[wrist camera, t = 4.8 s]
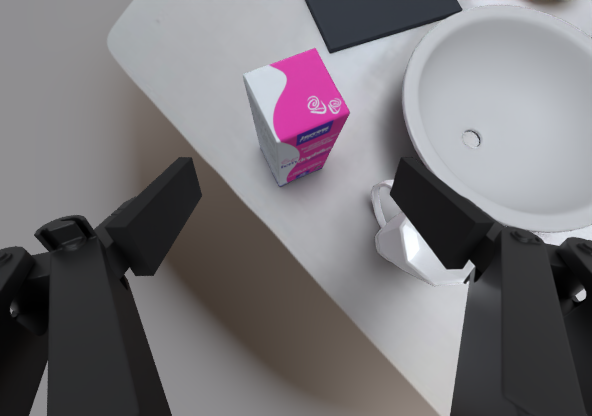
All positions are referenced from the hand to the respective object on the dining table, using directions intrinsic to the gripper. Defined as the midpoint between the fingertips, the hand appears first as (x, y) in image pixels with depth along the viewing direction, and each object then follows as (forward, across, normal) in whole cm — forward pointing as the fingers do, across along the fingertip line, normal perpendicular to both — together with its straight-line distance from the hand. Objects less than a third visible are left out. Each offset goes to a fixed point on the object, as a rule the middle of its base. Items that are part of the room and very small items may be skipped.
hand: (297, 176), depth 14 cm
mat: (+30, +12, +15) cm, 35 cm away
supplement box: (+12, 0, -4) cm, 13 cm away
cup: (+6, +11, -10) cm, 16 cm away
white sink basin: (+14, +22, -2) cm, 26 cm away
